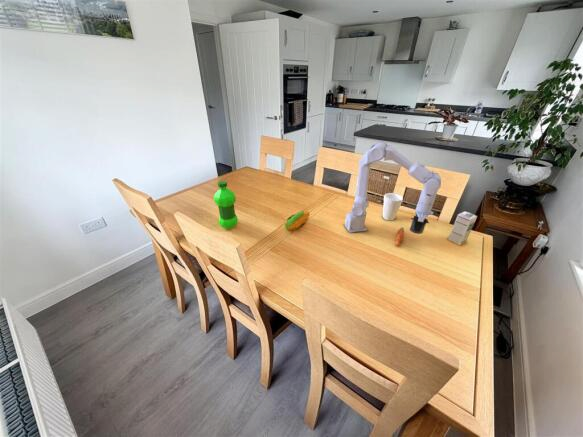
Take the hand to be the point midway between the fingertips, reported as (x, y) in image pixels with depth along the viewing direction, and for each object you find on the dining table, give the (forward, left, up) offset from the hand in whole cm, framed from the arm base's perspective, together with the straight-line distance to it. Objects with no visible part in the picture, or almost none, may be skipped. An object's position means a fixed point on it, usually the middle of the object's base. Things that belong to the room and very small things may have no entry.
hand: (417, 227), depth 108 cm
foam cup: (+1, +23, -9) cm, 25 cm away
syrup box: (+22, -3, -9) cm, 24 cm away
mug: (0, 0, -2) cm, 2 cm away
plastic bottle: (-87, +31, -9) cm, 93 cm away
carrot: (-5, +4, -9) cm, 10 cm away
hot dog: (-51, +25, -9) cm, 57 cm away
